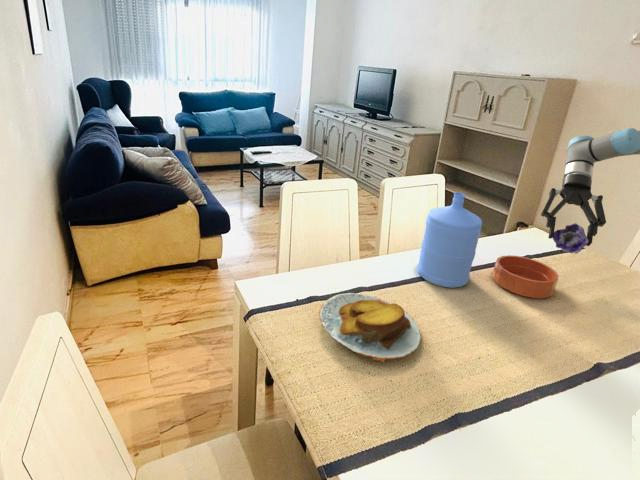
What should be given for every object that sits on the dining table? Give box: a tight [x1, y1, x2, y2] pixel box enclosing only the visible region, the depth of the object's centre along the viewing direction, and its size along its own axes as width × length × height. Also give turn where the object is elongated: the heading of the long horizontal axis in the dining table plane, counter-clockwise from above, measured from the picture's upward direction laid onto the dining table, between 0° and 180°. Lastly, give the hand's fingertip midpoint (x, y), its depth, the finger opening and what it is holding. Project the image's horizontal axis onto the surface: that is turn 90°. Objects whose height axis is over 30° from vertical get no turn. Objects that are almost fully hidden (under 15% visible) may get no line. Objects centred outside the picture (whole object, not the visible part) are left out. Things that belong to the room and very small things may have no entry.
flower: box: [551, 222, 589, 254], centre depth 121 cm, size 9×9×10 cm
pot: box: [491, 255, 559, 299], centre depth 121 cm, size 17×17×6 cm
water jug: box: [416, 192, 483, 289], centre depth 120 cm, size 16×16×28 cm
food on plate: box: [318, 292, 422, 362], centre depth 97 cm, size 25×25×7 cm
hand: (569, 240), depth 118 cm, fingers closed on flower, 9 cm apart
